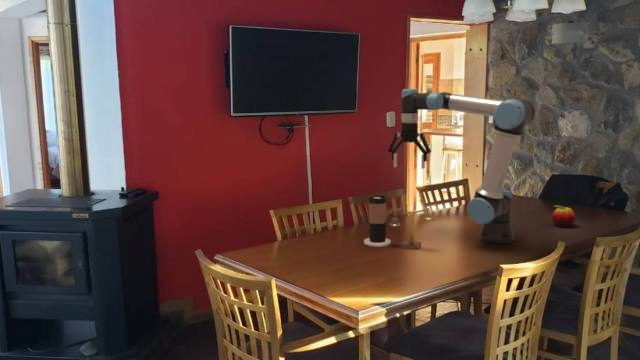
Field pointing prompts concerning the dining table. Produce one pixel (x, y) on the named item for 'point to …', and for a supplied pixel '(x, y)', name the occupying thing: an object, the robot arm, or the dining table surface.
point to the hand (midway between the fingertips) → (409, 167)
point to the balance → (411, 243)
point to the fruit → (563, 216)
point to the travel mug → (377, 219)
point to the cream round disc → (372, 244)
